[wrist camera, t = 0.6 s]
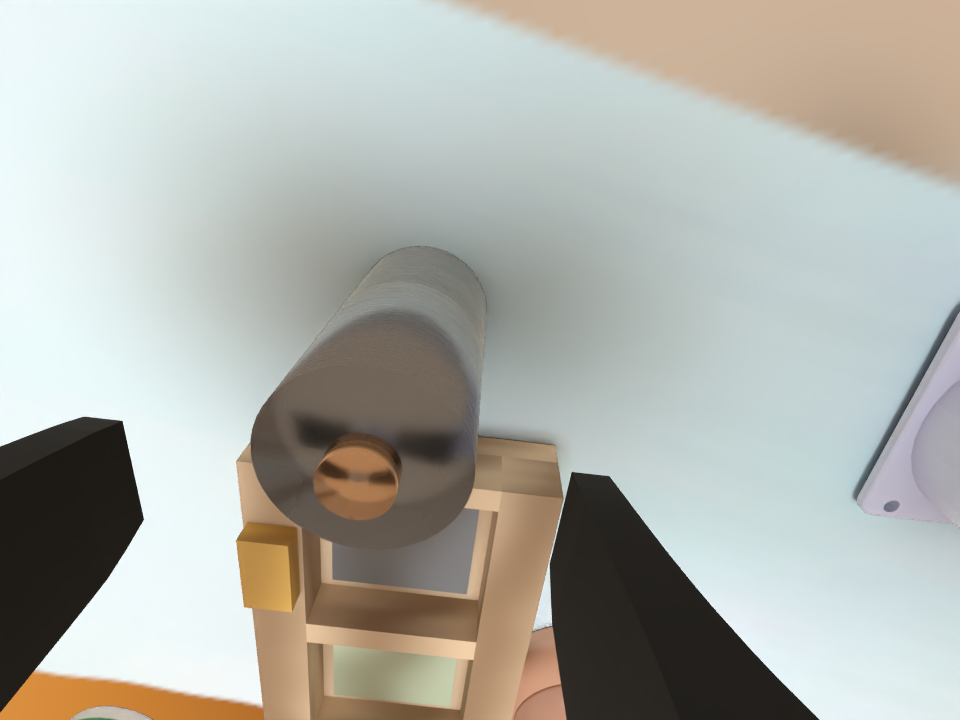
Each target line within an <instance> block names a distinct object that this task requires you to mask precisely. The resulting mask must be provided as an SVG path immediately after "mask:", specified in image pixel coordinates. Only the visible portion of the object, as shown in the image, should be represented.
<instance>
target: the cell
mask: <svg viewBox="0 0 960 720" xmlns="http://www.w3.org/2000/svg"><path fill="white" fill-rule="evenodd" d="M485 325H486V300H485V295H484V292H483V289H482V286H481V284H480V282H479V281H478V279H477V277H476V276H475V274H474V273H473V272H472V270H471V269H470V268H469V267H468V266H467V265H466V264H465V263H463V262H462V261H461V260H460V259H458V258H457V257H455V256H453V255H452V254H450V253H447V252H445V251H443V250H439V249H436V248H431V247H422V246H416V247H408V248H403V249H400V250H397V251H394V252H392V253H390V254H388V255H386V256H385V257H383V258H382V259H381V260H379V261H378V262H377V263H376V264H375V265H374V266H373V268H372V269H371V270H370V271H369V273H368V274H367V275H366V276H365V278H364V279H363V280H362V281H361V283H360V284H359V285H358V286H357V288H356V289H355V290H354V291H353V293H352V294H351V295H350V296H349V298H348V299H347V300H346V302H345V303H344V304H343V305H342V307H341V308H340V309H339V310H338V312H337V313H336V314H335V315H334V317H333V318H332V319H331V320H330V322H329V323H328V324H327V325H326V327H325V328H324V329H323V330H322V332H321V333H320V334H319V335H318V337H317V338H316V339H315V341H314V342H313V343H312V344H311V346H310V347H309V348H308V349H307V351H306V352H305V353H304V354H303V356H302V357H301V358H300V359H299V361H298V362H297V363H296V364H295V366H294V367H293V368H292V369H291V371H290V372H289V373H288V375H287V376H286V377H285V378H284V380H283V381H282V382H281V383H280V385H279V386H278V387H277V388H276V390H275V391H274V392H273V393H272V395H271V396H270V397H269V398H268V400H267V401H266V402H265V404H264V405H263V406H262V408H261V410H260V412H259V413H258V415H257V417H256V420H255V423H254V426H253V429H252V435H251V458H252V464H253V467H254V470H255V473H256V476H257V479H258V481H259V483H260V485H261V487H262V489H263V490H264V492H265V493H266V495H267V496H268V498H269V499H270V500H271V501H272V503H273V504H274V505H275V506H276V507H277V508H278V509H279V510H280V511H281V512H282V513H283V514H284V515H285V516H286V517H287V518H289V519H290V520H291V521H293V522H294V523H295V524H297V525H298V526H299V527H301V528H303V529H304V530H306V531H308V532H309V533H311V534H314V535H316V536H318V537H320V538H322V539H325V540H327V541H330V542H333V543H336V544H340V545H344V546H348V547H353V548H360V549H373V550H379V549H393V548H400V547H405V546H409V545H413V544H416V543H418V542H421V541H424V540H426V539H428V538H430V537H432V536H434V535H436V534H437V533H439V532H440V531H442V530H443V529H445V528H446V527H447V526H448V525H449V524H451V523H452V522H453V521H454V520H455V519H456V518H457V516H458V515H459V514H460V513H461V512H462V510H463V509H464V507H465V505H466V504H467V502H468V500H469V497H470V495H471V492H472V489H473V485H474V480H475V469H476V455H477V440H478V426H479V412H480V397H481V383H482V368H483V354H484V339H485Z"/></svg>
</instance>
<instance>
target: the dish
mask: <svg viewBox="0 0 960 720" xmlns="http://www.w3.org/2000/svg"><path fill="white" fill-rule="evenodd" d="M511 720H567V719H566V713H565V707H564V700H563V694H562V687H561V681H560V674H559V667H558V661H557V654H556V647H555V641H554V634H553V627H549V628H544V629H541V630H538V631H535V632H532V634H531V638H530V643H529V647H528V651H527V655H526V660H525V664H524V668H523V672H522V676H521V681H520V685H519V689H518V693H517V698H516V702H515V706H514V710H513V715H512V719H511Z"/></svg>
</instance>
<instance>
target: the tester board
mask: <svg viewBox="0 0 960 720" xmlns="http://www.w3.org/2000/svg"><path fill="white" fill-rule="evenodd" d="M236 464H237V473H238V483H239V492H240V501H241V510H242V519H243V530H242V532H241V533H240V535H239V537H238V538H237V540H236V543H237V551H238V560H239V568H240V577H241V585H242V593H243V602H244V607H247V608H252V610H253V619H254V628H255V637H256V647H257V656H258V665H259V674H260V683H261V692H262V701H263V710H264V719H265V720H511V719H512V715H513V710H514V706H515V702H516V698H517V693H518V689H519V685H520V681H521V676H522V672H523V668H524V664H525V660H526V655H527V651H528V647H529V643H530V638H531V634H532V630H533V626H534V622H535V617H536V613H537V609H538V605H539V600H540V596H541V592H542V588H543V584H544V579H545V575H546V571H547V567H548V562H549V558H550V554H551V550H552V546H553V541H554V537H555V533H556V529H557V524H558V520H559V516H560V512H561V508H562V503H563V499H564V498H563V492H562V486H561V480H560V473H559V467H558V461H557V455H556V449H555V445H547V444H538V443H529V442H521V441H512V440H504V439H495V438H486V437H478V440H477V455H476V469H475V480H474V485H473V489H472V492H471V495H470V497H469V500H468V502H467V504H466V505H465V507H464V509H463V510H462V512H461V513H460V514H459V515H458V516H457V518H456V519H455V520H454V521H453V522H452V523H451V524H449V525H448V526H447V527H446V528H445V529H443V530H442V531H440V532H439V533H437V534H436V535H434V536H432V537H430V538H428V539H426V540H424V541H421V542H418V543H416V544H413V545H409V546H405V547H400V548H393V549H379V550H373V549H360V548H353V547H348V546H344V545H340V544H336V543H333V542H330V541H327V540H325V539H322V538H320V537H318V536H316V535H314V534H311V533H309V532H308V531H306V530H304V529H303V528H301V527H299V526H298V525H297V524H295V523H294V522H293V521H291V520H290V519H289V518H287V517H286V516H285V515H284V514H283V513H282V512H281V511H280V510H279V509H278V508H277V507H276V506H275V505H274V504H273V503H272V501H271V500H270V499H269V498H268V496H267V495H266V493H265V492H264V490H263V489H262V487H261V485H260V483H259V481H258V479H257V476H256V473H255V470H254V467H253V464H252V458H251V442H250V443H249V445H248V446H247V447H246V449H245V450H244V451H243V453H242V454H241V455H240V457H239V458H238V460H237V461H236Z"/></svg>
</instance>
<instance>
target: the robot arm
mask: <svg viewBox="0 0 960 720" xmlns="http://www.w3.org/2000/svg"><path fill="white" fill-rule="evenodd" d="M889 501H890V502H889ZM887 502H889V503H887ZM857 504H858V506H859V507H860V508H861V509H862V510H863V511H864V512H865V513H867V514H870V515H879V516H887V517H896V518H905V519H913V520H922V521H931V522H939V523H948V524H955V525H956V526H957V527H958V528H959V529H960V312H959V314H958V315H957V317H956V319H955V321H954V323H953V324H952V326H951V328H950V330H949V332H948V334H947V335H946V337H945V339H944V341H943V343H942V344H941V346H940V348H939V350H938V352H937V353H936V355H935V357H934V359H933V361H932V363H931V364H930V366H929V368H928V370H927V372H926V373H925V375H924V377H923V379H922V381H921V383H920V384H919V386H918V388H917V390H916V392H915V393H914V395H913V397H912V399H911V401H910V403H909V404H908V406H907V408H906V410H905V412H904V413H903V415H902V417H901V419H900V421H899V422H898V424H897V426H896V428H895V430H894V432H893V433H892V435H891V437H890V439H889V441H888V442H887V444H886V446H885V448H884V450H883V452H882V453H881V455H880V457H879V459H878V461H877V462H876V464H875V466H874V468H873V470H872V472H871V473H870V475H869V477H868V479H867V481H866V482H865V484H864V486H863V488H862V490H861V492H860V493H859V495H858V497H857ZM143 520H144V518H143V513H142V509H141V504H140V500H139V495H138V490H137V486H136V481H135V477H134V472H133V467H132V463H131V458H130V454H129V449H128V445H127V440H126V435H125V431H124V426H123V422H122V421H117V420H109V419H100V418H91V417H81V418H78V419H75V420H72V421H68V422H65V423H62V424H59V425H56V426H54V427H51V428H48V429H45V430H43V431H40V432H37V433H35V434H32V435H29V436H27V437H24V438H21V439H19V440H16V441H14V442H11V443H9V444H6V445H3V446H1V447H0V712H1V711H2V710H3V708H4V707H5V706H6V705H7V703H8V702H9V701H10V700H11V698H12V697H13V696H14V695H15V694H16V692H17V691H18V690H19V689H20V687H21V686H22V685H23V684H24V683H25V681H26V680H27V679H28V677H29V676H30V675H31V674H32V673H33V671H34V670H35V669H36V668H37V666H38V665H39V664H40V663H41V662H42V660H43V659H44V658H45V657H46V655H47V654H48V653H49V652H50V650H51V649H52V648H53V647H54V645H55V644H56V643H57V642H58V641H59V639H60V638H61V637H62V636H63V634H64V633H65V632H66V631H67V629H68V628H69V627H70V626H71V624H72V623H73V622H74V621H75V619H76V618H77V617H78V616H79V614H80V613H81V612H82V611H83V609H84V608H85V607H86V606H87V604H88V603H89V602H90V601H91V599H92V598H93V597H94V595H95V594H96V593H97V592H98V590H99V589H100V588H101V586H102V585H103V584H104V583H105V581H106V580H107V579H108V577H109V576H110V574H111V573H112V571H113V569H114V568H115V566H116V565H117V563H118V562H119V560H120V559H121V557H122V555H123V554H124V552H125V551H126V549H127V547H128V546H129V544H130V542H131V541H132V539H133V537H134V535H135V534H136V532H137V530H138V529H139V527H140V525H141V524H142V522H143ZM550 583H551V608H552V627H553V634H554V641H555V647H556V654H557V661H558V667H559V674H560V681H561V687H562V694H563V700H564V707H565V713H566V719H567V720H819V719H818V718H817V717H816V716H815V715H814V714H813V713H812V712H811V711H810V710H809V709H808V708H807V707H806V706H805V705H804V704H803V703H802V702H801V701H800V700H799V699H798V698H797V697H796V696H795V695H794V694H793V693H792V692H791V691H790V690H789V689H788V688H787V687H786V686H785V685H784V684H783V683H782V682H781V681H780V680H779V679H778V678H777V677H776V676H775V675H774V674H773V673H772V672H771V671H770V670H769V669H768V667H767V666H766V665H765V664H764V663H763V662H762V661H761V660H760V659H759V658H758V657H757V656H756V655H755V654H754V653H753V652H752V650H751V649H750V648H749V647H748V646H747V645H746V644H745V643H744V642H743V640H742V639H741V638H740V637H739V636H738V635H737V634H736V633H735V632H734V630H733V629H732V628H731V627H730V626H729V625H728V624H727V623H726V622H725V620H724V619H723V618H722V617H721V616H720V615H719V614H718V613H717V612H716V610H715V609H714V608H713V607H712V606H711V605H710V603H709V602H708V601H707V600H706V599H705V598H704V596H703V595H702V594H701V593H700V592H699V591H698V589H697V588H696V587H695V586H694V585H693V583H692V582H691V581H690V580H689V578H688V577H687V576H686V575H685V574H684V572H683V571H682V570H681V569H680V567H679V566H678V565H677V564H676V562H675V561H674V560H673V559H672V558H671V556H670V555H669V554H668V552H667V551H666V550H665V549H664V547H663V546H662V545H661V544H660V542H659V541H658V540H657V538H656V537H655V536H654V534H653V533H652V532H651V531H650V529H649V528H648V527H647V525H646V524H645V523H644V521H643V520H642V519H641V517H640V516H639V515H638V513H637V512H636V511H635V510H634V508H633V507H632V506H631V504H630V503H629V502H628V500H627V499H626V498H625V496H624V495H623V494H622V492H621V491H620V490H619V488H618V487H617V486H616V484H615V483H614V482H613V481H612V479H611V478H610V477H609V476H602V475H593V474H584V473H575V472H572V474H571V478H570V482H569V486H568V490H567V494H566V499H565V503H564V507H563V511H562V515H561V520H560V524H559V528H558V532H557V536H556V541H555V545H554V549H553V553H552V557H551V561H550Z"/></svg>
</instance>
